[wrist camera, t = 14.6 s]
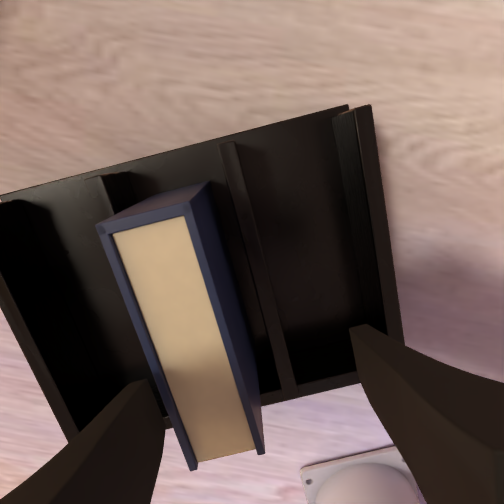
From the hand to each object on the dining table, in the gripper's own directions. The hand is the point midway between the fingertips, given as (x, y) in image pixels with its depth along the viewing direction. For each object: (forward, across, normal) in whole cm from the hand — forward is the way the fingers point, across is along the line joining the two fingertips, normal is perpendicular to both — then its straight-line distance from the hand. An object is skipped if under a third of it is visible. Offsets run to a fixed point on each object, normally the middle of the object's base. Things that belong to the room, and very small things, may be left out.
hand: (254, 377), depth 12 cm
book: (+8, +2, -1) cm, 9 cm away
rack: (+9, +2, -1) cm, 10 cm away
